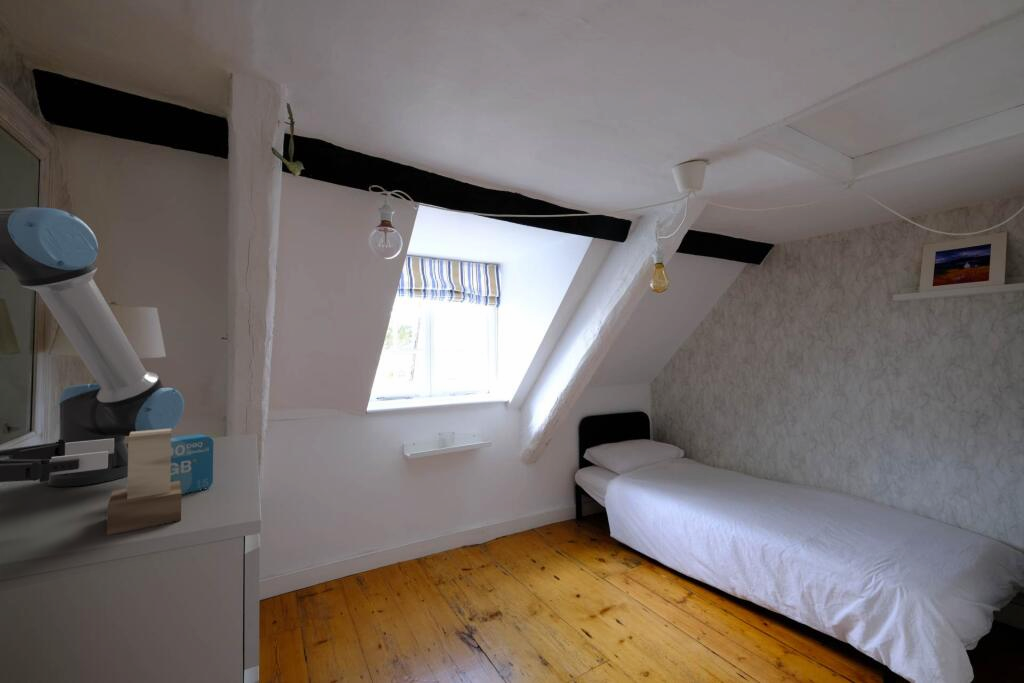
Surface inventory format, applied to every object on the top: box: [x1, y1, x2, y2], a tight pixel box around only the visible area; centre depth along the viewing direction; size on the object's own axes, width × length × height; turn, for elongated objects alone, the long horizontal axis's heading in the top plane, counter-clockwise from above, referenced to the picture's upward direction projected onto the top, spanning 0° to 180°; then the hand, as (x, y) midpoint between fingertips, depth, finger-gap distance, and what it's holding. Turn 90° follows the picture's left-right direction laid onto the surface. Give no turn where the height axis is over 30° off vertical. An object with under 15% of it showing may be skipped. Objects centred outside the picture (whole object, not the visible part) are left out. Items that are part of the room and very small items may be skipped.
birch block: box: [127, 428, 172, 499], centre depth 81 cm, size 6×6×11 cm
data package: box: [171, 433, 214, 495], centre depth 96 cm, size 12×4×12 cm, turn 144°
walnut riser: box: [106, 481, 182, 536], centre depth 81 cm, size 10×10×5 cm
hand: (111, 452), depth 78 cm, fingers open, 13 cm apart
